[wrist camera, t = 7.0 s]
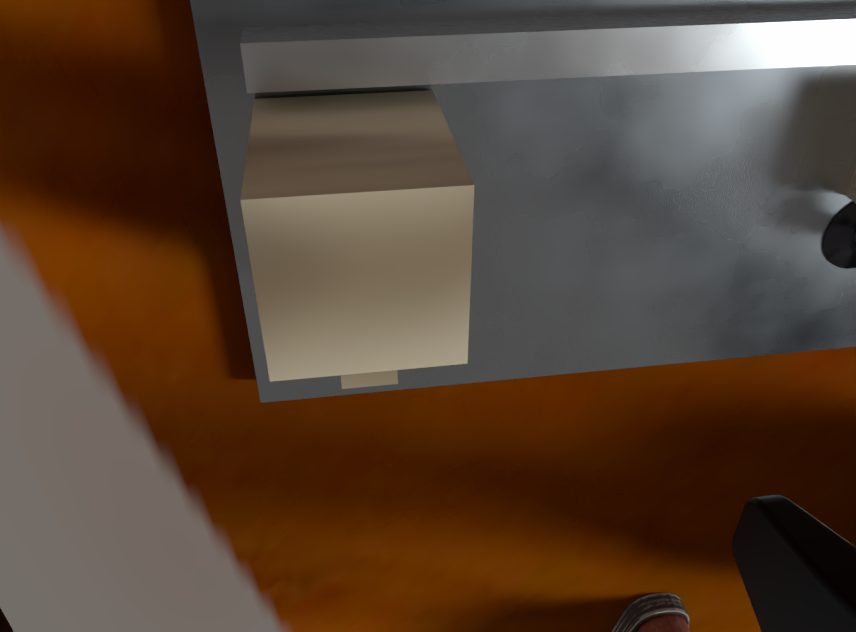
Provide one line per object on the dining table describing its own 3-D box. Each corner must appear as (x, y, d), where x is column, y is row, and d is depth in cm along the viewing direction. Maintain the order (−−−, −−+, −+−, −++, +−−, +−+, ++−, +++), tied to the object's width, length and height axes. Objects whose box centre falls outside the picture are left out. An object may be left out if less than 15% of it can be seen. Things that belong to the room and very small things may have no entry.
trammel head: (431, 277, 20) (465, 401, 16) (280, 288, 19) (276, 420, 15) (432, 90, 17) (474, 185, 13) (254, 98, 17) (240, 199, 12)
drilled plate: (870, 324, 25) (956, 405, 22) (262, 380, 23) (256, 480, 19) (1085, -179, 17) (1274, -170, 13) (167, -172, 14) (130, -161, 11)
